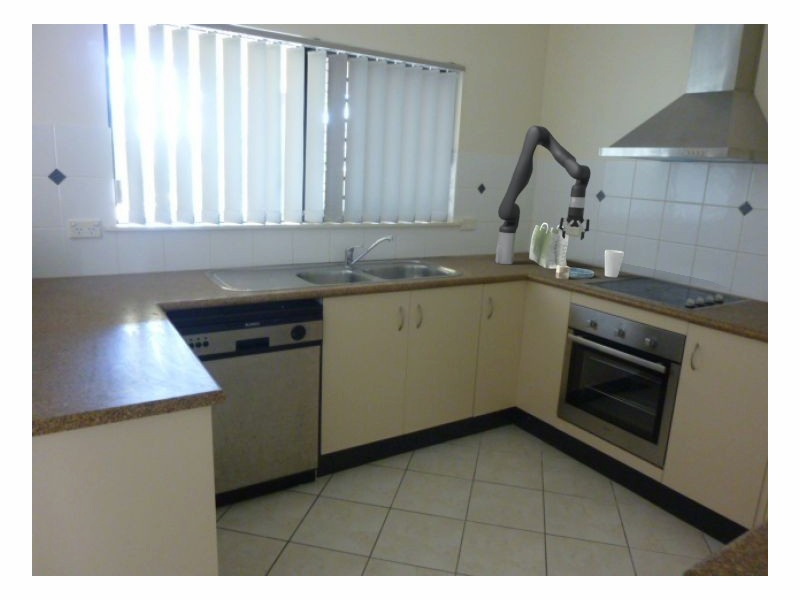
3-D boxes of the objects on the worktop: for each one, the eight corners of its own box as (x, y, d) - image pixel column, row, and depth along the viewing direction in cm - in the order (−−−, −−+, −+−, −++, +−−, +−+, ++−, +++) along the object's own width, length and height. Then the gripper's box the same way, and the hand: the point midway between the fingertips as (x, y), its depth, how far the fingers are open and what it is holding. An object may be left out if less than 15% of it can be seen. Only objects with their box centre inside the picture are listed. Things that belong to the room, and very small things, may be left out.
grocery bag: (569, 269, 309) (575, 226, 304) (544, 268, 308) (550, 225, 303) (550, 259, 340) (555, 220, 335) (527, 258, 339) (532, 219, 334)
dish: (566, 277, 285) (566, 272, 284) (557, 271, 300) (557, 266, 300) (597, 278, 285) (598, 274, 284) (587, 273, 301) (587, 268, 300)
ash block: (558, 278, 279) (559, 267, 278) (555, 276, 284) (556, 265, 283) (568, 279, 279) (569, 267, 278) (565, 277, 284) (566, 265, 283)
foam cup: (603, 273, 302) (607, 249, 299) (622, 276, 298) (625, 251, 295) (600, 275, 294) (603, 251, 291) (618, 278, 290) (622, 253, 287)
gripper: (562, 205, 278) (558, 238, 282) (592, 207, 276) (588, 240, 280) (560, 205, 285) (557, 237, 289) (590, 206, 283) (586, 239, 287)
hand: (572, 239), depth 284 cm, fingers open, 8 cm apart
